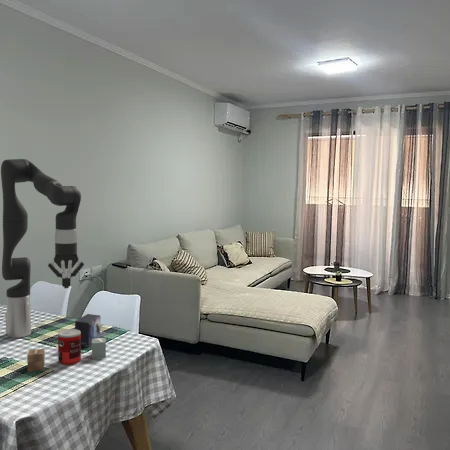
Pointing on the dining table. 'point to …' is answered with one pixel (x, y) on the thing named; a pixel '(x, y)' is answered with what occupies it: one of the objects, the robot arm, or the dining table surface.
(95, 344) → the slate digit block
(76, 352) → the canned food
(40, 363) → the walnut digit block
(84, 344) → the small box
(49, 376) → the dining table surface
